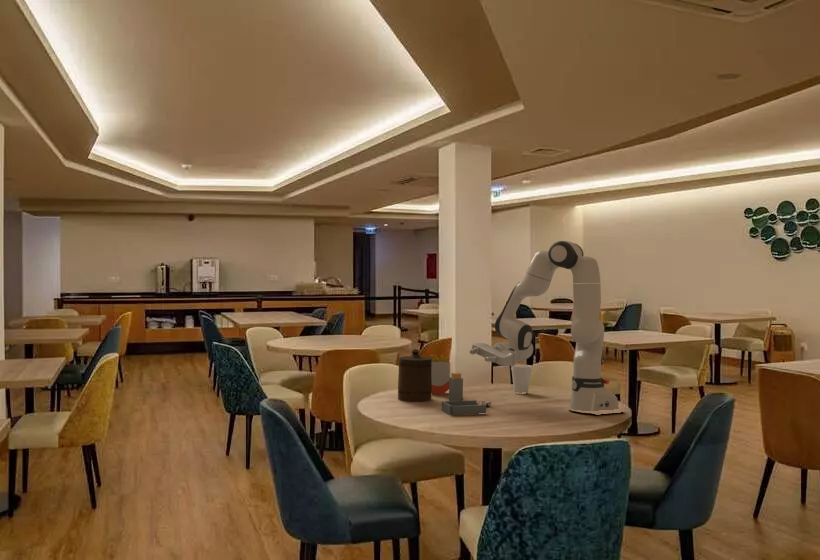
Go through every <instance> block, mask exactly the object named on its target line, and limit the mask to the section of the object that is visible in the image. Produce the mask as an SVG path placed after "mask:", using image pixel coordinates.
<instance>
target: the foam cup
mask: <svg viewBox="0 0 820 560" xmlns="http://www.w3.org/2000/svg"><path fill="white" fill-rule="evenodd" d="M532 367H533V366H532V365H529V364H521V363H520V364H518V363H517V364H516V363H515V366H510V369H511V375H512V383H513V384H512V385H513V387H512V388H513V393H514V392H519V393H522V392H528V393H529V389H530V388H529V387H530V381H531V375H532V372H533V371H532V370H533V368H532Z"/></svg>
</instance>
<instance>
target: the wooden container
mask: <svg viewBox="0 0 820 560" xmlns="http://www.w3.org/2000/svg"><path fill="white" fill-rule="evenodd" d="M431 363H432V359H431V358H430V356H429V357H428V356H421V355H420V350H419V349H416V348H414V349H412V350H411V354H410V356H408V355H407V356H399V357H398V376H397V378H398V379H397V398H398V400H400V401H403V402H412V403H413V402H416V403H418V402H419V403H420V402H428V401H431V400H432V394H431V390H432V378H431V365H432V364H431Z"/></svg>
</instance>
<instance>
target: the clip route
mask: <svg viewBox="0 0 820 560" xmlns="http://www.w3.org/2000/svg"><path fill="white" fill-rule="evenodd" d="M477 405H480V402H477ZM481 405H486V406H493V405H492V401H488V402H486V401H485V400H481Z"/></svg>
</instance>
